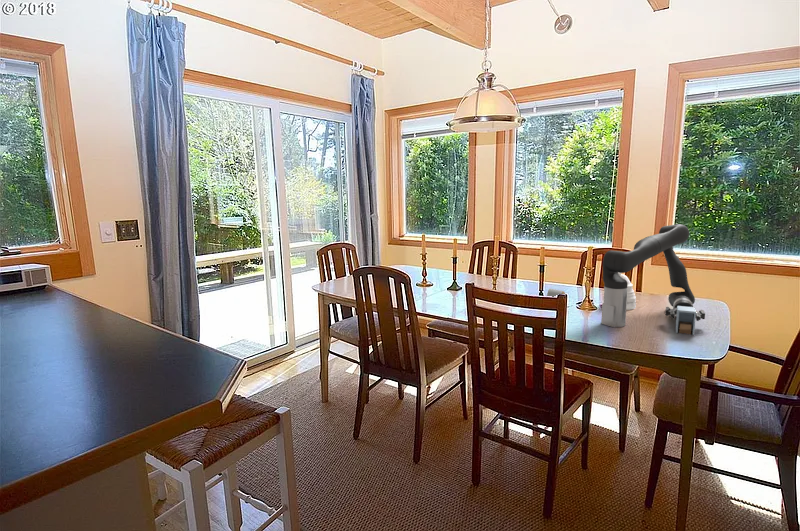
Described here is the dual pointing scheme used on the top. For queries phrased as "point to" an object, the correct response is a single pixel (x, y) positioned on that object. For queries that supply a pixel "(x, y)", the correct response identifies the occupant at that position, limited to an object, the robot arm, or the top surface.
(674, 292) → the robot arm
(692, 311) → the tall pale blue box
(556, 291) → the ceramic mug
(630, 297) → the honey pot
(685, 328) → the cube
